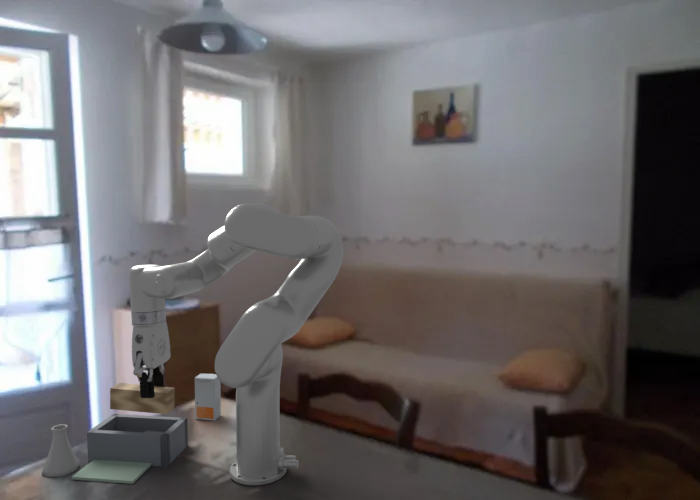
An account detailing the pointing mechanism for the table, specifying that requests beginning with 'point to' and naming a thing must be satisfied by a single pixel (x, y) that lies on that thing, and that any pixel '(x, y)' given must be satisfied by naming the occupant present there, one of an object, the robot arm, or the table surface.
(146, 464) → the mat
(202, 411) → the skincare box
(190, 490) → the table surface
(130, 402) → the oak bar
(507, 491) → the table surface
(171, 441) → the cradle
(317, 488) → the table surface
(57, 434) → the flask
